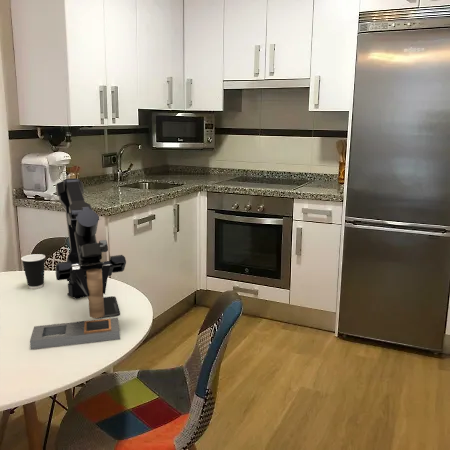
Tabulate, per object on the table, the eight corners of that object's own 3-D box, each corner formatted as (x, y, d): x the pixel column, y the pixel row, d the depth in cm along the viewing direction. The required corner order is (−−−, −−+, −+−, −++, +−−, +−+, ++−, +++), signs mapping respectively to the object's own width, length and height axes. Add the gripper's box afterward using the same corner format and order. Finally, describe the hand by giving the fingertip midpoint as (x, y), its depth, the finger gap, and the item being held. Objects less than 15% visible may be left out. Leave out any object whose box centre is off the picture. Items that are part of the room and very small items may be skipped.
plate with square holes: (30, 349, 126) (29, 339, 125) (34, 334, 134) (33, 325, 134) (120, 339, 132) (119, 329, 131) (118, 325, 140) (118, 316, 140)
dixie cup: (51, 286, 171) (49, 257, 169) (29, 292, 166) (26, 262, 164) (42, 281, 177) (39, 252, 174) (20, 286, 172) (17, 257, 169)
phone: (94, 316, 144) (91, 298, 158) (94, 320, 145) (91, 301, 159) (120, 313, 147) (115, 295, 161) (120, 316, 147) (116, 298, 161)
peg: (95, 311, 136) (92, 267, 133) (107, 313, 134) (104, 269, 131) (86, 316, 132) (83, 272, 129) (98, 319, 131) (95, 274, 128)
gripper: (53, 234, 127) (61, 287, 120) (122, 227, 135) (134, 276, 128) (52, 254, 136) (60, 305, 129) (118, 247, 144) (128, 294, 137)
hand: (96, 294), depth 130 cm, fingers closed on peg, 4 cm apart
